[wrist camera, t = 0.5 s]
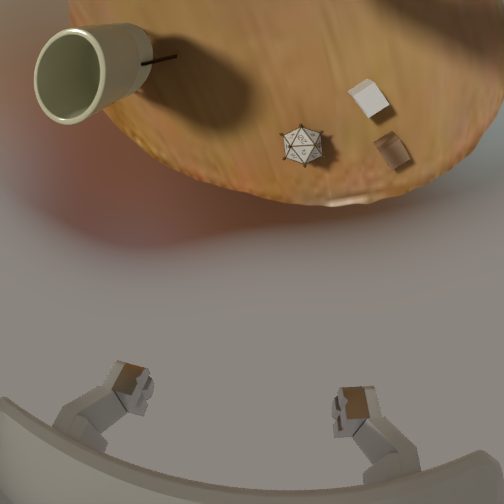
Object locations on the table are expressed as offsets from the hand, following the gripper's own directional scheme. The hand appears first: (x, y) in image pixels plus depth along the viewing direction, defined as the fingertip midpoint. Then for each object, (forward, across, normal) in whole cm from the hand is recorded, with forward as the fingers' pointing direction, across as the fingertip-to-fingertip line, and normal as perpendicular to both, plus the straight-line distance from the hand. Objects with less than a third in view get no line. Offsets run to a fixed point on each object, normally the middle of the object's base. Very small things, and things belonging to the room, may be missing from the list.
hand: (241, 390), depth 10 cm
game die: (+50, -6, -7) cm, 51 cm away
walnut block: (+49, -24, -8) cm, 55 cm away
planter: (+45, +27, -26) cm, 59 cm away
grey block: (+46, -17, -18) cm, 52 cm away
